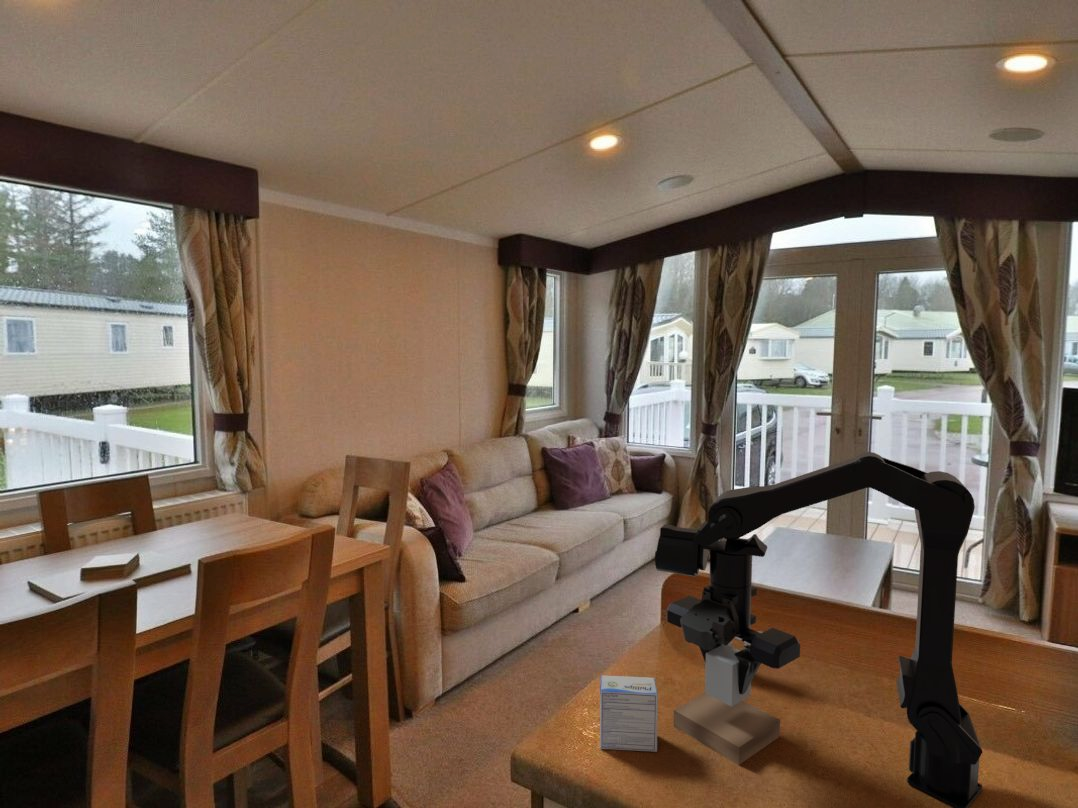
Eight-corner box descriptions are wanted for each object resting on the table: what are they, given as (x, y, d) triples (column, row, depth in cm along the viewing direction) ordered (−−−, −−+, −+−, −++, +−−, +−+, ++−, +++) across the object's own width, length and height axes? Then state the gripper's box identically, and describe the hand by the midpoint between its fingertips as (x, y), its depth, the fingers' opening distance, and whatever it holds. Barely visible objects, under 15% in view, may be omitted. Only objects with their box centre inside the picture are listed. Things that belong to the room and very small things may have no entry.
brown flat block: (779, 739, 90) (780, 719, 89) (738, 768, 84) (739, 747, 83) (715, 705, 98) (715, 687, 98) (673, 729, 92) (673, 710, 92)
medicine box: (654, 734, 90) (655, 676, 90) (657, 754, 86) (658, 693, 85) (599, 731, 91) (600, 673, 90) (599, 750, 87) (600, 690, 86)
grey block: (750, 695, 90) (751, 655, 89) (731, 706, 87) (732, 665, 87) (723, 682, 94) (724, 643, 93) (704, 692, 91) (705, 652, 90)
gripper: (642, 574, 91) (641, 677, 93) (755, 618, 77) (752, 739, 78) (691, 559, 98) (689, 654, 100) (804, 595, 83) (800, 707, 85)
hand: (727, 686), depth 90 cm, fingers closed on grey block, 4 cm apart
